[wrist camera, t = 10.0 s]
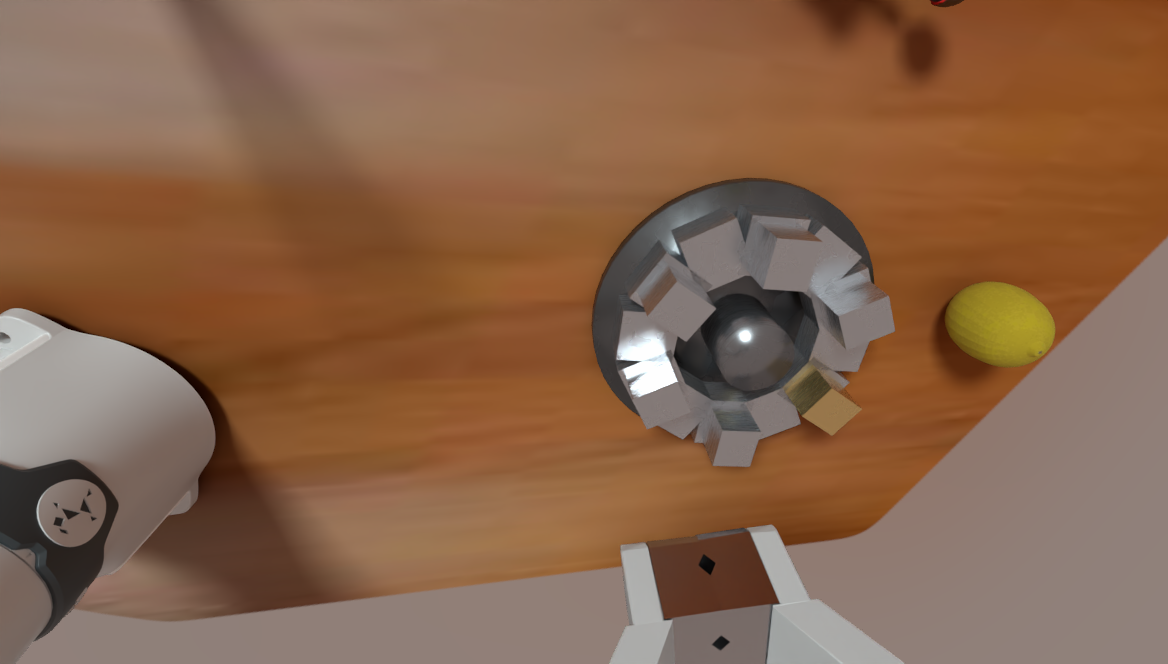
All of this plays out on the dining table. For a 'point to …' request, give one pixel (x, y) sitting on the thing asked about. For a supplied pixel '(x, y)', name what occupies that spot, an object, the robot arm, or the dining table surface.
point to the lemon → (999, 324)
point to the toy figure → (945, 2)
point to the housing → (721, 290)
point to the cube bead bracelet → (681, 305)
